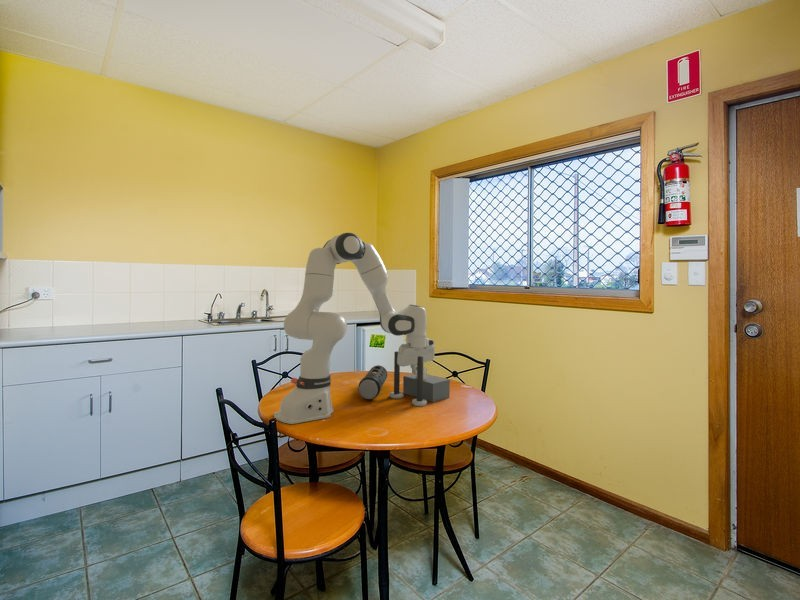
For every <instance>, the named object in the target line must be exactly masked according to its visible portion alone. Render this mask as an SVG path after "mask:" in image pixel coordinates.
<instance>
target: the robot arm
mask: <svg viewBox="0 0 800 600" xmlns="http://www.w3.org/2000/svg"><path fill="white" fill-rule="evenodd" d="M347 262H351V263H352V264H353V265H354V266H355V268H356V270H357V272H358V274H359V276H360V278H361V280H362V282H363V283H364V285H365V286H366V288H367V290H368V291H369V292H370V294H371V296H372V298H373V301H374V304H375V306H376V308H377V311H378V313H379V325H380V327H381V329H382V330H383V331H384V332H385V333H388V334H391V335H394V336H397V337H399V336H404V335H406V339H405V343H403V344H401V345H399V347H398V357H397V364H398V365H399V366H400V367H409V366H410V368H411V370H412V371H411V373H412V374H417V359H418V356H423V364H424V363H427V362H428V363H429V362H433V361H434V359H435V343H436V341H435V340H434V339H431V338H428V337H427V326H428V321H427V320H428V318H427V310H426V308H425V307H423V306H421V305H415V304H408V305H407V306H406V307H405V308H403V309H401V310H399V311H396V310H395V309H394V307H393V305H392V303H391V300H390V299H389V298H390V297H389V296H388V292H387V284H388V282H389V275H388V272H387V271H388V270H387V269H386V266H385V263H384V262H383V259H382V257H381V255H380V254H379V252H378V251H377V250H376V248H375V246H374V245H373V244H372V243H369V242H364V241H362V239H361V238H360V237H359V236H358V235H356V234H355V233H352V232H343V233H341V234H339V235H335V236H333V237H332V238H331V239H329V240H327V241H326V243H325V244H324V245H323V247H317V248H314V249H312V250H311V251H310V253H309V255H308V258H307V262H306V266H305V273H304V284H303V290H302V294H301V298H300V300H299V302H298V303H297V306H295V308H294V309H293V310H292V311H290V312H289V313H288V314H287V315H286V316H285V318H284V321H283V329H284V332H285V334H286V335H287V336H288V337H291V338H294V339H298V340H308V341H312V346H311V348H310V349H308V350H306V351H305V352H303V353H302V354H301V356H300V361H299V362H300V368H299V370H300V375H299V376H298V378H296V377H291V379H290V382H291V383H292V384H294V385H295V387H294V388H293V389H292V390H291V391H289V393H288V394H286V395H285V396H284V397H283V398H282V400H281V402H280V407H279V410H278V411H275V412H273V418H274V419H275V418H276V419H275V420H277V421H278V422H281V423H284V424H289V425H294V424H299V423H305V422H311V421H317V420H322V419H323V420H324V419H328V418H331V416H332V414H333V413H334V411H335V410H334V408H333V403H332V398H331V397H332V396H331V390H330V389H331V388H330V387H331V382H332V381H331V378H332V377H331V374H330V367H331V366H330V365H331V355H332V352H333V350H334V348H335V346H336V345H337V344H338V343H339V341H341V340H342V339H344V337H345V335H346V334H347V331H348V323H347V320H346V318H345V317H344V316H343V315H341V314H339V313H335V312H329V311H327V312H326V311H320V309H321V306H322V305H323V304H325V303H326V302H329V301H330V299H332V297H333V294H334V293H333V292H334V279H335V269H336V266H337V265H339V264H344V263H347ZM415 367H416V368H415Z"/></svg>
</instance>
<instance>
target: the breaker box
mask: <svg viewBox="0 0 800 600" xmlns="http://www.w3.org/2000/svg"><path fill="white" fill-rule="evenodd" d="M402 383H403V385H402V388H403V389H402V393H403V395H404V394H405V395H407V396H410V397H414V398H417V378H415V374H413V373H412V374H407V375H406V374H405V375H403V382H402ZM450 383H451V379H448V378H444V377H441V376H436V375H431V374H428V373H427V379H426V380H423V399H425V400H427V402H431V403H435V402H438V401H439V402H440V401H442V400H445V399H449V398H450V388H451V387H450V385H451V384H450Z"/></svg>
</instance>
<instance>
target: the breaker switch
mask: <svg viewBox="0 0 800 600" xmlns="http://www.w3.org/2000/svg"><path fill="white" fill-rule="evenodd" d="M416 367H417V366H415V368H416ZM427 371H428V368H427V367H424V366H423V380H426V379H427V374H428V372H427ZM415 378H417V374H415Z"/></svg>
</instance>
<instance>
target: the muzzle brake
mask: <svg viewBox="0 0 800 600" xmlns="http://www.w3.org/2000/svg"><path fill="white" fill-rule="evenodd" d="M387 379H388V371H387V369H386V368H385V367H384V366H383V365H379V364H378V365H373V366H372V367H371V368H370V369H369V371H368V372H367V373H366V374H365V376H364V377H362V379H361V380H360V381H359V383H358V385H357V390H358V393H359V395H360V396H361V397H363V398H364V399H366V400H373V399H376V398H377V397H378V396H379V394H380V392H381V391H382V388H383V386H384V385H385V382H386V380H387Z"/></svg>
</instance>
